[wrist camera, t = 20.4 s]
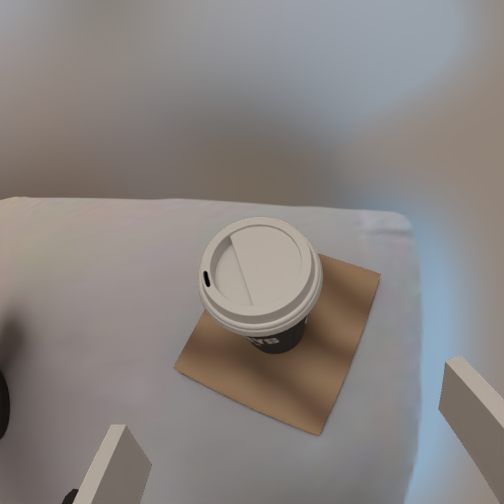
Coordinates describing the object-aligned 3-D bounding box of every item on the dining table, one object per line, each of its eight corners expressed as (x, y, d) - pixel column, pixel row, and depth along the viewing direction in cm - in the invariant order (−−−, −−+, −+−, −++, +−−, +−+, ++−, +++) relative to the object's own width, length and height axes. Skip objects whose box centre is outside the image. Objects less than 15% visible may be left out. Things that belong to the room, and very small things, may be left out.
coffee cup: (238, 287, 38) (202, 210, 25) (318, 287, 36) (321, 206, 24) (229, 365, 33) (178, 323, 21) (317, 368, 31) (324, 329, 19)
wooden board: (318, 435, 29) (318, 435, 28) (178, 370, 35) (173, 367, 34) (378, 279, 37) (380, 274, 36) (250, 237, 43) (248, 231, 42)
